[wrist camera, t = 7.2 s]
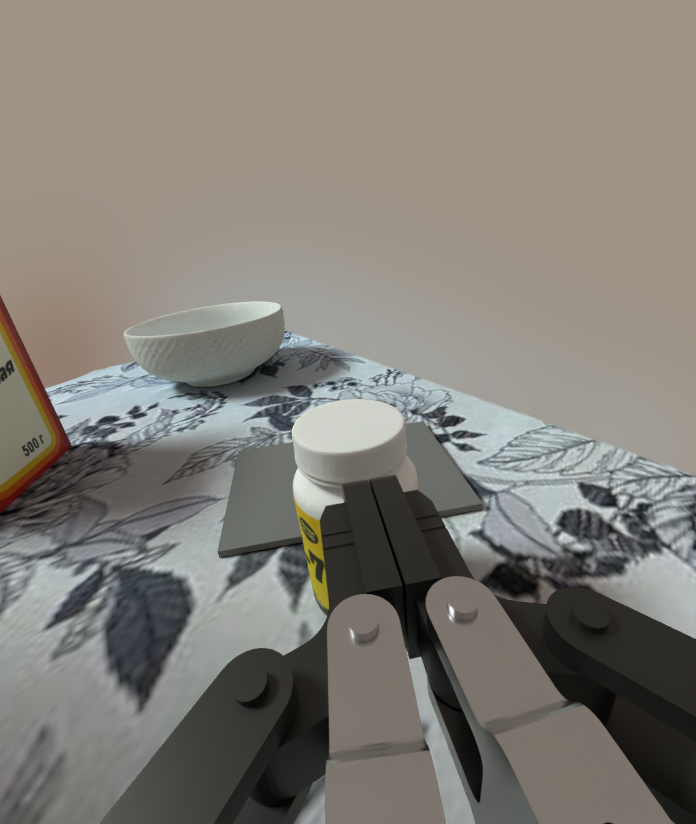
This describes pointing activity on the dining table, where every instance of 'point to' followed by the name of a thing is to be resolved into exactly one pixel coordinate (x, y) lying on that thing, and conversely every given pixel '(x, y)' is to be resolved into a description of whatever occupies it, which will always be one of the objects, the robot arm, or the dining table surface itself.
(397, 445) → the supplement bottle
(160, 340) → the cereal bowl
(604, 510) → the dining table surface
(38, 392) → the baking soda box
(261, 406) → the dining table surface
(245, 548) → the mat
